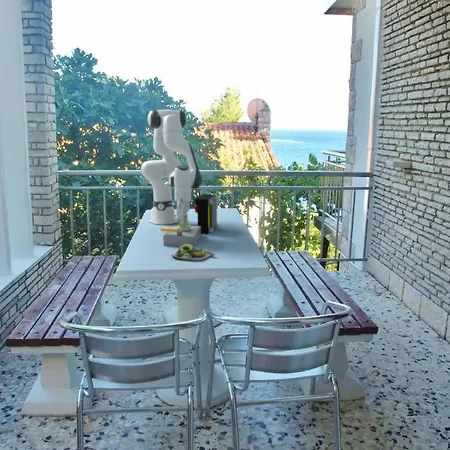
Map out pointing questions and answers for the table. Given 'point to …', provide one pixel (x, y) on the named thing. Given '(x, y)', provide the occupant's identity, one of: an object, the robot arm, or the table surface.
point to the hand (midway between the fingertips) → (183, 222)
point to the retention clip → (173, 230)
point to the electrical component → (206, 212)
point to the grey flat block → (182, 237)
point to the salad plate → (191, 253)
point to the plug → (185, 225)
